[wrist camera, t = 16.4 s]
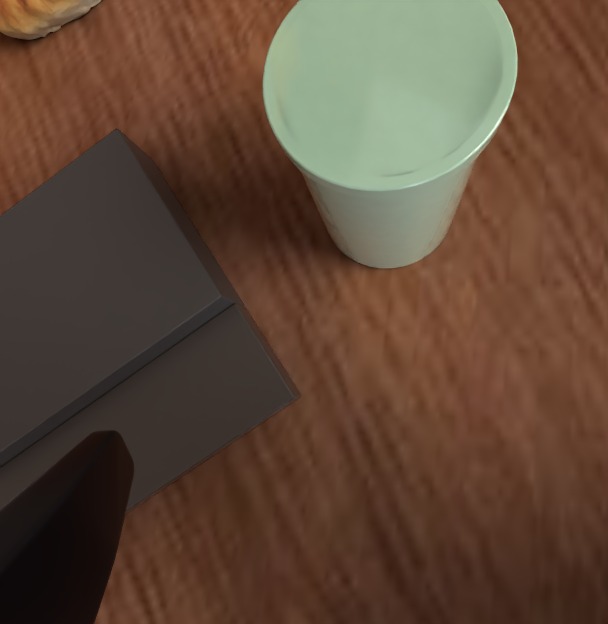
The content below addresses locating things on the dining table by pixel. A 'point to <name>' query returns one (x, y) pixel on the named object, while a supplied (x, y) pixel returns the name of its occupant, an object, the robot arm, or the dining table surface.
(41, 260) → the step shelf
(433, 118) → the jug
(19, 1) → the pastry
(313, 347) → the dining table surface
